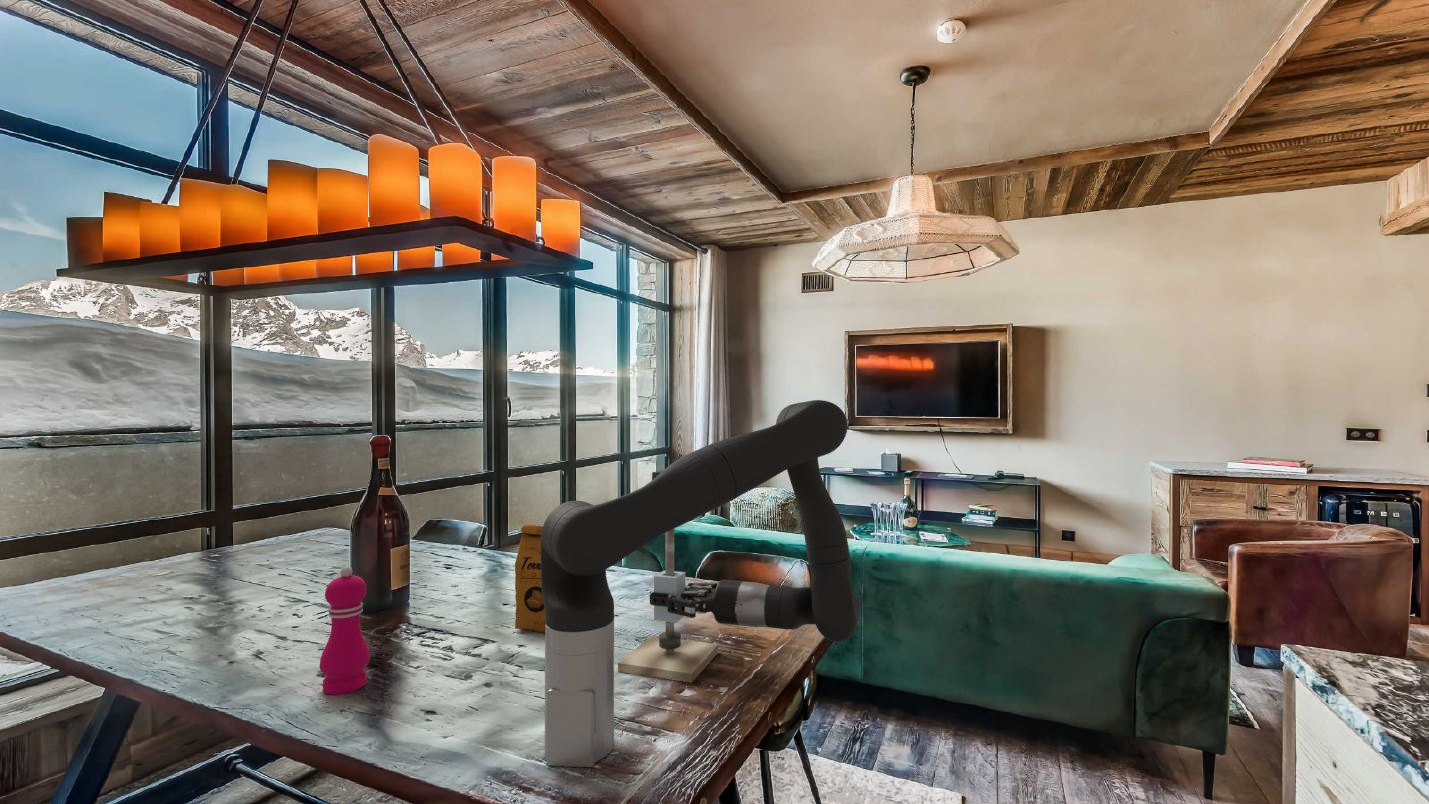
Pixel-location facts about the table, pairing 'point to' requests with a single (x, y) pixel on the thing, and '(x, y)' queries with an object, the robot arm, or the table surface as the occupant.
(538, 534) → the coffee package
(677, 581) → the sleeve
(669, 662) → the rod stand
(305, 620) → the table surface
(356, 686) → the pepper mill
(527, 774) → the table surface
